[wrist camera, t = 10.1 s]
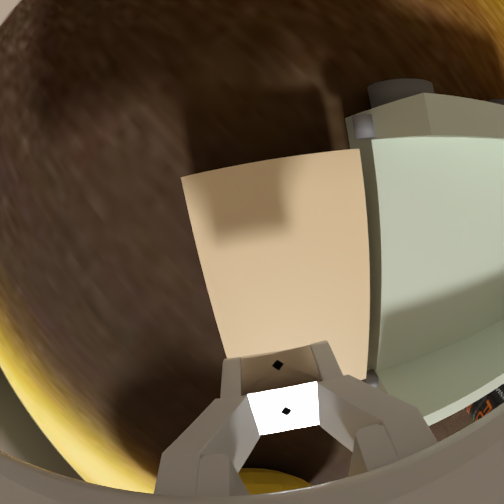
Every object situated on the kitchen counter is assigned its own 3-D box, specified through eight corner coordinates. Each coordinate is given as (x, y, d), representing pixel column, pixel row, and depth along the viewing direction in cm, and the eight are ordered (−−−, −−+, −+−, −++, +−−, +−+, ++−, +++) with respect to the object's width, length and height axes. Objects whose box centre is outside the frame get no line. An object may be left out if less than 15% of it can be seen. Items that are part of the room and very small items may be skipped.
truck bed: (510, 107, 11) (595, 110, 4) (501, 318, 16) (558, 368, 9) (326, 93, 11) (423, 29, 4) (350, 377, 17) (392, 476, 9)
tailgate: (359, 148, 9) (180, 177, 10) (365, 378, 13) (241, 403, 13) (347, 149, 11) (187, 175, 11) (358, 363, 14) (241, 387, 14)
